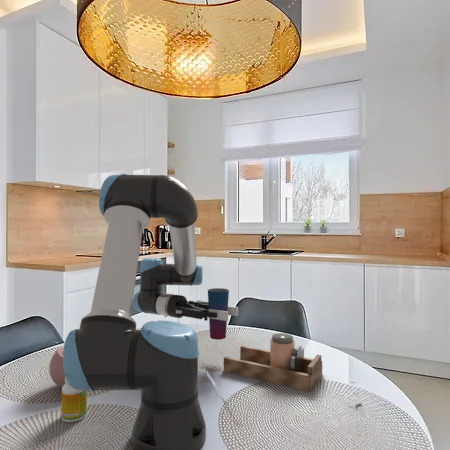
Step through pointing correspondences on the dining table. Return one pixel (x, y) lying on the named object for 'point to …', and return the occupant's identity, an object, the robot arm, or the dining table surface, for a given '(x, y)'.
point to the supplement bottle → (73, 403)
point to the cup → (218, 302)
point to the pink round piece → (57, 368)
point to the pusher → (298, 359)
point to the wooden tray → (273, 369)
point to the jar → (281, 350)
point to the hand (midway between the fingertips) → (232, 313)
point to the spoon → (359, 407)
